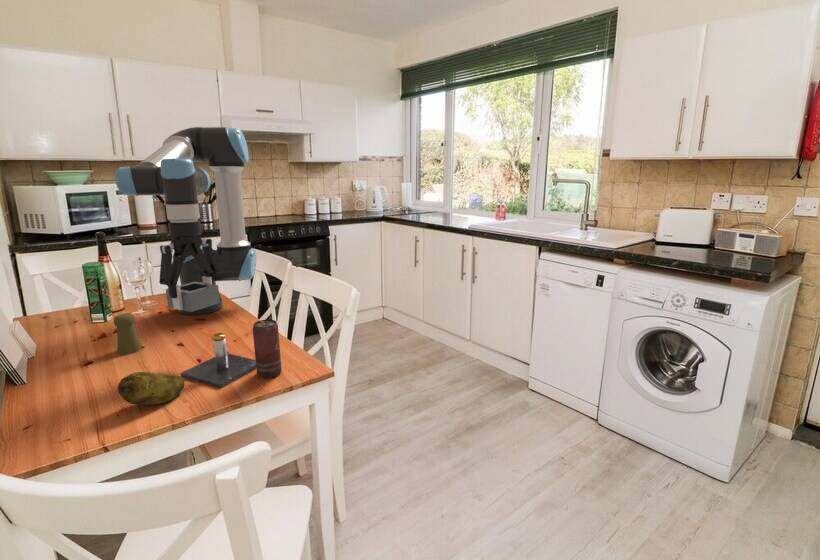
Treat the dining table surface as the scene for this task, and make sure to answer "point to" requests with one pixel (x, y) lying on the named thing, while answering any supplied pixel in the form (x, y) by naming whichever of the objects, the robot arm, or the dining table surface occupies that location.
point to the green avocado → (150, 387)
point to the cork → (126, 334)
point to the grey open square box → (196, 296)
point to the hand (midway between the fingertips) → (194, 304)
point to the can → (267, 348)
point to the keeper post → (220, 366)
